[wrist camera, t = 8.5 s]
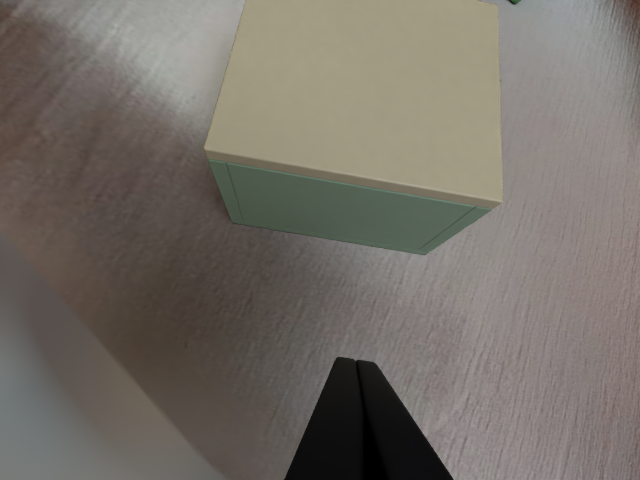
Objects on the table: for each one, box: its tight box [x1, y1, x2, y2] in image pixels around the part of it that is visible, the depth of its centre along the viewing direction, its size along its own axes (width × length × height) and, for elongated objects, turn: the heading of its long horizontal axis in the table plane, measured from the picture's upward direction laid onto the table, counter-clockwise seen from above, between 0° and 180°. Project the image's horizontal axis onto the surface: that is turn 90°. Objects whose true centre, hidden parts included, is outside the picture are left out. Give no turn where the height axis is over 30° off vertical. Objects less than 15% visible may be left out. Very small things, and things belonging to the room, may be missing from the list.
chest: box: [208, 159, 492, 255], centre depth 21 cm, size 11×13×8 cm
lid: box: [204, 0, 503, 209], centre depth 17 cm, size 11×13×1 cm
